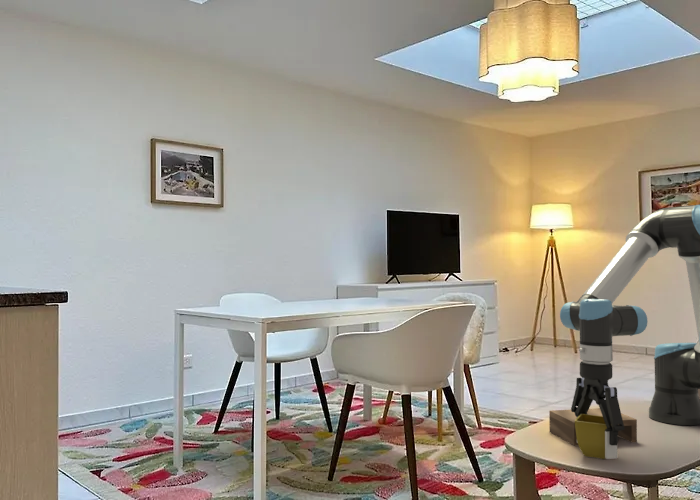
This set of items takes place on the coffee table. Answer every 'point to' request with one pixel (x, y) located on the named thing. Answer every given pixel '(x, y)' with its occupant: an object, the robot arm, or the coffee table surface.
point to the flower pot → (591, 435)
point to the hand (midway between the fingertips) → (596, 450)
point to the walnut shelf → (565, 429)
